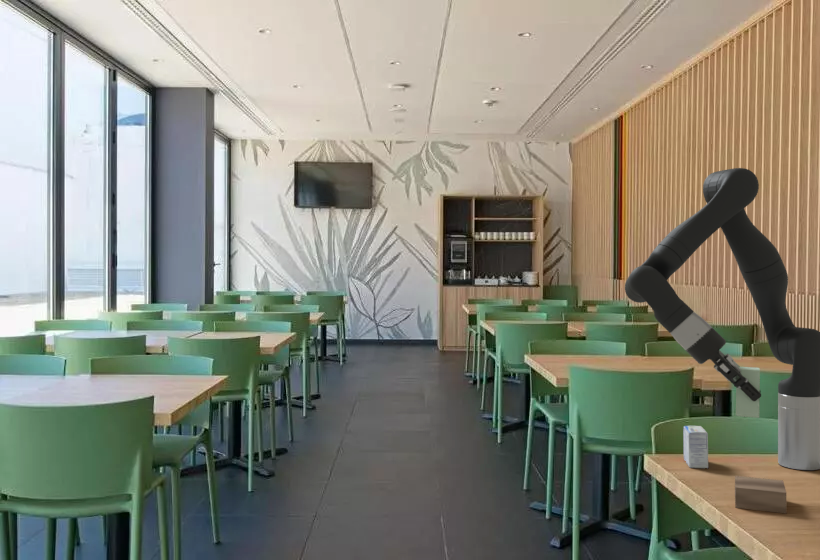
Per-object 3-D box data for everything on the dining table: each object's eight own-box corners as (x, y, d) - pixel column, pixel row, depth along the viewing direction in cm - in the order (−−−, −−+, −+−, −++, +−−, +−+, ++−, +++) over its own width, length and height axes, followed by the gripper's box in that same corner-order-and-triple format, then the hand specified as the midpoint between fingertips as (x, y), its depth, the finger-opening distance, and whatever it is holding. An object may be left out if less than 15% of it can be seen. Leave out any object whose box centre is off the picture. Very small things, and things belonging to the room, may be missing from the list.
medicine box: (708, 469, 171) (708, 432, 171) (688, 468, 172) (688, 431, 172) (702, 460, 179) (702, 425, 179) (683, 459, 180) (683, 425, 180)
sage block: (735, 412, 158) (736, 366, 158) (758, 413, 156) (759, 367, 156) (735, 415, 154) (736, 369, 154) (759, 417, 152) (759, 370, 152)
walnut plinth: (734, 494, 152) (734, 475, 152) (783, 499, 148) (783, 480, 148) (735, 507, 143) (735, 487, 143) (786, 513, 140) (786, 492, 140)
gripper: (709, 328, 151) (773, 390, 146) (711, 324, 164) (770, 380, 159) (682, 352, 154) (744, 414, 149) (686, 346, 167) (743, 402, 162)
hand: (757, 396), depth 154 cm, fingers closed on sage block, 4 cm apart
